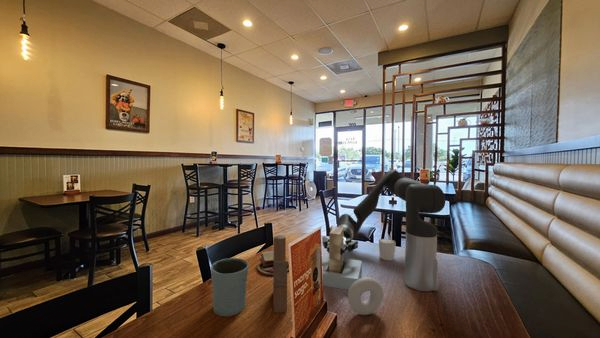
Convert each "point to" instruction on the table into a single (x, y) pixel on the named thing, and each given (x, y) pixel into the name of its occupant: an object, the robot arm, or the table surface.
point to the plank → (336, 250)
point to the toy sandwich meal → (268, 263)
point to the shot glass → (387, 249)
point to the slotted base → (343, 280)
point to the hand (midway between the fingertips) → (335, 251)
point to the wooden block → (280, 275)
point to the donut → (372, 301)
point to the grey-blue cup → (229, 286)
